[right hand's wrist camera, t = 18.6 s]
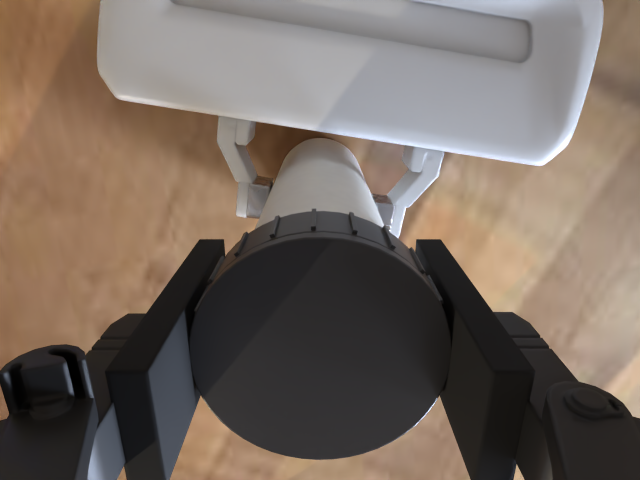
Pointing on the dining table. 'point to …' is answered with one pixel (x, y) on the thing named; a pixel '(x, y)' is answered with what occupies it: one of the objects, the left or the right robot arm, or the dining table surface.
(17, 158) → the dining table surface
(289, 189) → the jar
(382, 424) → the lid
